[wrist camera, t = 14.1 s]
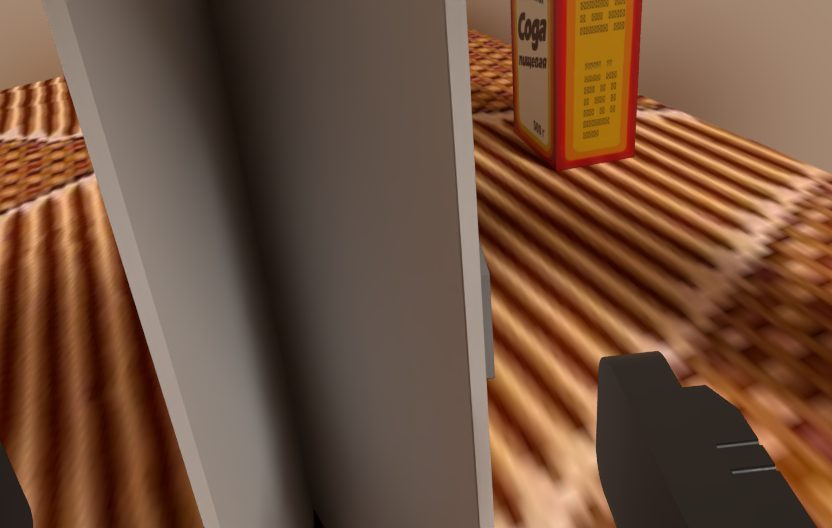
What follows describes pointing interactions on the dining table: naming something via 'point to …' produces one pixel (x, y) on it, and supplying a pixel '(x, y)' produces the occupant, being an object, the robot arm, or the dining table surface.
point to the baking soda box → (576, 78)
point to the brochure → (298, 247)
